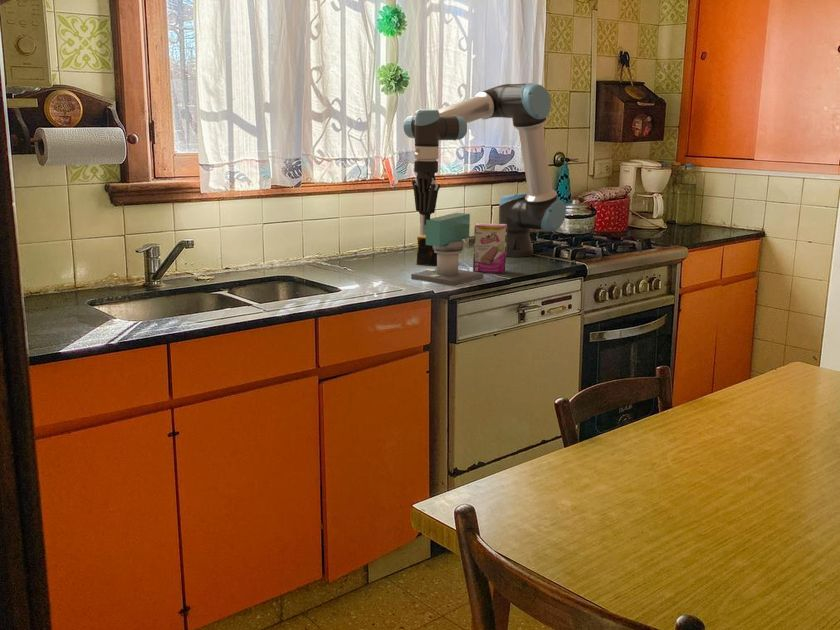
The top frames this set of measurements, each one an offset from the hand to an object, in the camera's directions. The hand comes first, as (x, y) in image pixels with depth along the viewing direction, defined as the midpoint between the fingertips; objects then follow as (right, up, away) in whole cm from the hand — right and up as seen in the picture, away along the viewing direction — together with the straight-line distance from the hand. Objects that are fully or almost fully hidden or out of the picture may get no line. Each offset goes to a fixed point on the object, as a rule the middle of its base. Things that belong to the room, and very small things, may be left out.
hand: (424, 234), depth 270 cm
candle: (+4, -7, +34) cm, 35 cm away
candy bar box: (+22, -11, +19) cm, 31 cm away
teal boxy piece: (+8, -4, +5) cm, 10 cm away
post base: (+8, -14, +8) cm, 17 cm away
